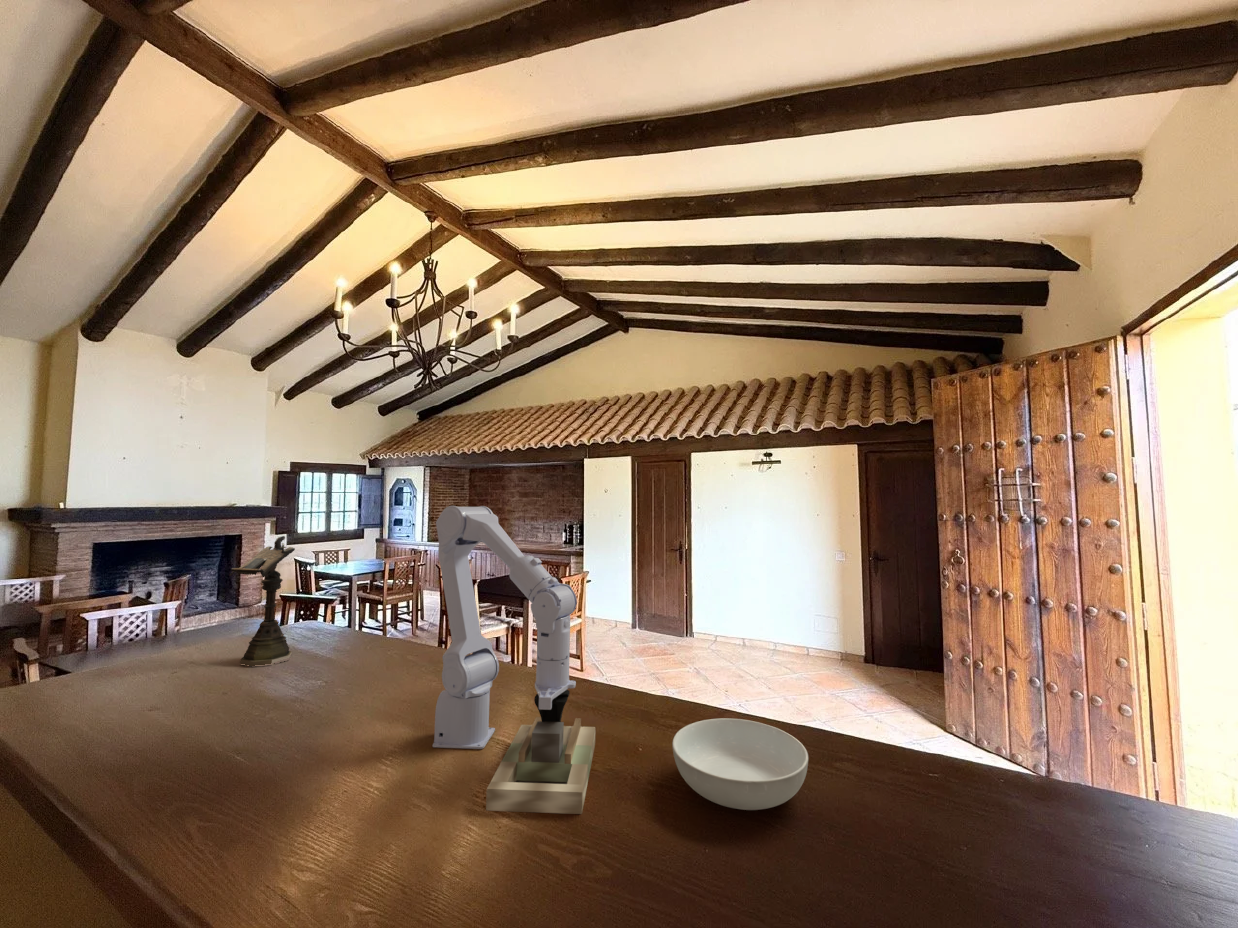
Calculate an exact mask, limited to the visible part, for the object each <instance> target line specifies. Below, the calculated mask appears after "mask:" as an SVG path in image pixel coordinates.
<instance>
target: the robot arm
mask: <svg viewBox="0 0 1238 928" xmlns="http://www.w3.org/2000/svg"><path fill="white" fill-rule="evenodd" d="M435 527H436V532H437V539H438V551H437V552H438V559H439V566H440V571H441V578H442V585H443V592H444V599H445V604H446V612H447V615H448V616H447V618H448V625H449V631H450V635H451V643H450V644H449V647H447V649H446V651H445V652H444V653H443V655H442V663H443V665H442V672H441V680H442V681H441V682H442V685H443V687H444V689H443V690H442V691H441V692H440V693H439V695H438V697H437V701H436V704H435V705H436V706H435V714H434V739H433V743H432V748H442V749H443V748H444V749H471V750H472V749H473V750H482V749H484V748H485V747H486V745H487V743H488V742H489V741H490V739H491V738H492V736H493V734H494V733H495V731H496V728H495V727H489V726H490V722H489V721H490V719H489V718H490V698H491V697H490V695H491V694H490V693H491V688H492V687H493V681H494V680H496V678H497V677H498V674H499V673H500V664H499V659H498V657H497V655H496V653H495V652H494V650H493V644H492V642H491V641H490V640H489V639H488V638H486V637H485V636H483V635H482V631H481V626H480V620H479V615H478V614H479V613H478V607H477V601H476V596H475V589H474V584H473V578H472V577H473V576H472V572H471V566H470V559H469V555H470V554H471V553H472V551H473V549H474V548H475V547H476V546H477V545H479V544H481V543H483V544H484V545H485V546H486V547H487V548H488V549H490V550H491V552H493V554H495V555H496V557H498V558H499V559H500V561H502V563H504V564H505V565H506V566H507V567H508V568H509V574H508V575H509V579H510V580H511V582H513V583H514V585H515V586H516V587H517V589H519V590H520V591H521V593H522V594H524V596H525V597H526V599H527V600H528V601H529V602H530V611H531V614H532V615H533V616H532V617H534V619H535V629H536V630H537V632H536V634H537V637H536V638H537V639H536V640H537V641H536V670H535V671H536V673H535V682H534V688H535V690H536V691H535V692H536V693H537V694H535V696H534V698H533V699H534V704H535V706H536V708H537V710H538V712H539V715H540V716H539V717H541V721H542V722H562V717H563V713H564V709H565V706H566V703H567V701H568V699H569V697H570V690H569V689H575V688H576V687H577V685H576V684H577V682H576V680H570V653H571V652H570V650H571V649H570V644H571V643H570V642H571V641H570V640H571V615H572V614H573V613H575V612H574V611H575V610H576V607H577V603H578V601H577V595H576V593H575V591H574V590H573V588H572V586H571V585H570V584H567V583H560V582H559V580H558V579H557V577H553V576H552V574H550V573H549V571H547V569H546V568H545V567H544V566H543V565H542V563H543V561H542V560H541V559H540V558H539V557H535V556H533V555H524V553H523V552H522V551H521V550H520V548H519V547H518V546H517V545H516V543H515V542H514V541H513V540H512V539H511V537H510V536H509V535H508V533H507V532H506V531H505V529H503V527H502V526H501V525H500V523H499V516H497V515H496V514H494V513H493V511H492V509H491V508H489V507H487V506H485V505H479V506H456V505H449V506H446V507H445V508H444V509H443V510H442V511H441V513H440V515H439V517H438V518H437V519H436V520H435Z"/></svg>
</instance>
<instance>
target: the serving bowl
mask: <svg viewBox="0 0 1238 928" xmlns="http://www.w3.org/2000/svg"><path fill="white" fill-rule="evenodd" d="M671 744H672V752H673V757H674V761H675V765H676V768H677V769H678V772H679V774H680V776H681V777H682V779H684V781H685V783H686V784H687V785H688V787H690V788H691V789H692V790H693V791H695V793H697V794H699V796H700V797H701V796H702V797H703V798H704V799H706V800H708V801H711V802H712V803H715V804H717V805H720V806H723V807H727V808H730V809H737V810H742V811H743V810H744V811H745V810H746V811H758V810H766V809H767V810H768V809H771V808H774V807H778V806H780V805H783V804H785V803H786V802H788V801H789V800H791V799H792V798H793V797H794V796H795V795H796V794H797V793H798V792H799V790H800V789H801V787H802V785H804V784H803V783H804V782H805V779H806V776H807V773H808V772H807V771H808V766H809V753H808V750H807V749H806V747H805V746H804V745H803V743H802V742H800V740H798V739H797V737H794V736H793V735H791V734H789V733H788V732H786V731H784V730H782V729H780V728H778V727H775V726H772V725H769V724H765V723H762V722H759V721H753V720H749V719H741V718H730V717H729V718H728V717H727V718H724V717H723V718H711V719H703V720H700V721H695V722H693V723H689V724H687V725H685V726H684V727H682V728H680V729H679V730H678V731H677V732H676V733H675V734H674V737H673V739H672V743H671Z"/></svg>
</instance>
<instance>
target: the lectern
mask: <svg viewBox="0 0 1238 928" xmlns="http://www.w3.org/2000/svg"><path fill="white" fill-rule="evenodd" d="M285 540H286V536H285V535H283V536H279V537H277V538H276V540H275V541H274V542H273V543H274V547H273V546H271V545H270V546H266V547H264V548H262V550H260V551H259V552H258V553H257V554H255V555H254V556H253V557H252V558H251V559H250V560H248V561H246V563H244V564H243V565H241V566H240V567H232V568H230V571H231V573H229V576H232V575H233V574H235V573H237V574H238V575H246V576H248V575H250V576H253V575H254V576H257V574H258V573H260V575H261V577H262V578H264V579H262V580H261V581H260V582H261V584H262V586H261V590H263V591H265V594H266V595H265V605H263V607H264V609H265V610H264V619H263V621H261V622H260V623H259V625H258V626H259V627H258V629H257V630H256V633H255V634H254V636H252V637H251V640H250V641H248V644H249V645H248V646H247V649H246V651H245V653H244V654H243V656H242V658H241V659H240V664H245V665H249V666H255V665H265V664H271V663H274V662H277V661H280V660H283V659H287V658H289V657H290V655H291V654H292V653H293V651H291V650H290V646H289V645H288V642H287V637H286V636H284V635H285V633H283V631H282V629H281V627H280V625H279V623H280V622H279V621H278V620H277V619H276V618H275V609H276V607H277V603H276V597H277V596H276V595H277V592H278V591H277V590H280V589H281V587H282V585H281V583H282V582H283V581H284V580H283V579H282V578H281V576H282V575H281V573H280V572H279V571H277V570H276V569H277V566H278V564H279V563H280V562H281V561H283V560H284V559H285V558H287V557H289V555H290V554H292V553H293V552H294V551H295V549H296V548H295V547H292V546H288V547H287V546H285V544H284V543H282V542H283V541H285ZM240 664H239V665H240Z"/></svg>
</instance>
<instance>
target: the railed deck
mask: <svg viewBox="0 0 1238 928" xmlns="http://www.w3.org/2000/svg"><path fill="white" fill-rule="evenodd" d="M537 721H542V720H541V716H536V717H535V719H534V721H533V723H532V724H520V727H519V729H518V731H517V733H515V736H514V738H513V740H512V741H511V743H510V745H509V747H508V749H507V750H506V752H505V754H504V756H503V758H502V760H501V762H500V764H499V765H498V767H497V769H496V771H495V773H494V775H493V777H492V779H491V781H490V782H489V784H488V786H487V788H486V801H485V811H492V812H493V811H494V812H515V813H518V812H519V813H520V812H521V813H543V814H544V813H545V814H548V813H549V814H571V815H582V814H583V809H584V804H585V799H586V794H587V789H588V788H587V787H588V784H589V783H588V782H589V777H590V773H591V772H590V771H591V769H592V768H591V767H592V761H593V757H594V752H595V746H596V726H582V718H580V717H579V718H578V717H575V718H574V723H573V725H572V726H571V725H564V732H563V752H562V755H561V758H560V761H559V763H549V762H531V757H532V732H533V730H534V728H535V726H536V724H537Z"/></svg>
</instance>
